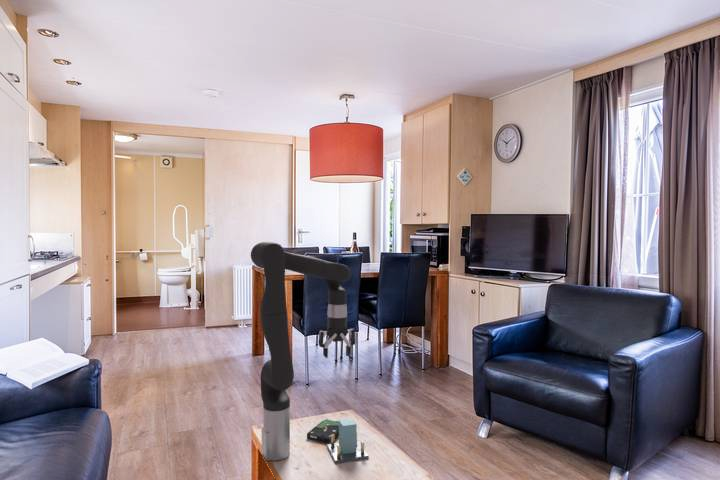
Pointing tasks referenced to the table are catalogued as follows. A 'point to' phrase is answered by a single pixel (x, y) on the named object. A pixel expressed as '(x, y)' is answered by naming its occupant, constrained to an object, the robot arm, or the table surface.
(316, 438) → the disk drive
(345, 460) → the chassis plate
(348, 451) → the teal block
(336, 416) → the table surface
